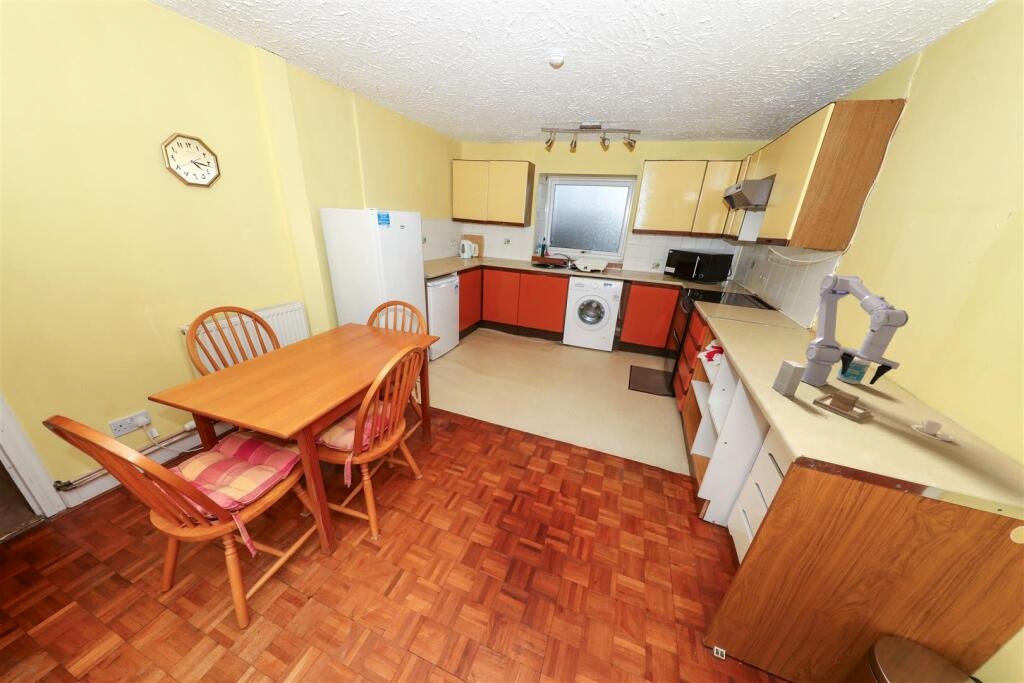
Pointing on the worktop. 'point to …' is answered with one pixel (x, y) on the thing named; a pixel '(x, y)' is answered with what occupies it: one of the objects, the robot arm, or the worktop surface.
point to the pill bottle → (854, 371)
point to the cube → (844, 401)
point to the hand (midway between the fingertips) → (857, 378)
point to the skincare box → (788, 378)
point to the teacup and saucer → (933, 430)
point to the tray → (854, 414)
